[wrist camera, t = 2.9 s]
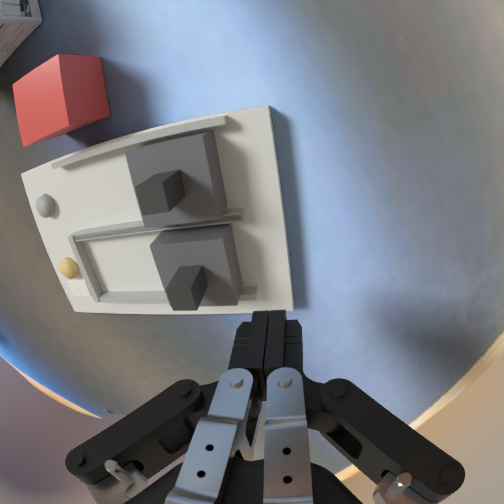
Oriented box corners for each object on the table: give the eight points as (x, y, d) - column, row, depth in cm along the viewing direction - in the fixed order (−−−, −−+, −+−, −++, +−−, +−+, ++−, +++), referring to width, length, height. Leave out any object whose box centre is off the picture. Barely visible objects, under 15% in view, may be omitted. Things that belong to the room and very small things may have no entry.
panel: (269, 105, 18) (258, 107, 12) (293, 299, 25) (291, 359, 19) (31, 169, 22) (-19, 193, 16) (82, 303, 29) (49, 343, 23)
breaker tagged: (230, 222, 20) (212, 260, 16) (242, 284, 23) (230, 331, 18) (163, 229, 21) (131, 265, 17) (180, 287, 24) (157, 330, 19)
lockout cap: (100, 56, 17) (58, 54, 12) (110, 115, 19) (69, 125, 15) (55, 79, 18) (12, 84, 13) (64, 133, 20) (23, 147, 16)
